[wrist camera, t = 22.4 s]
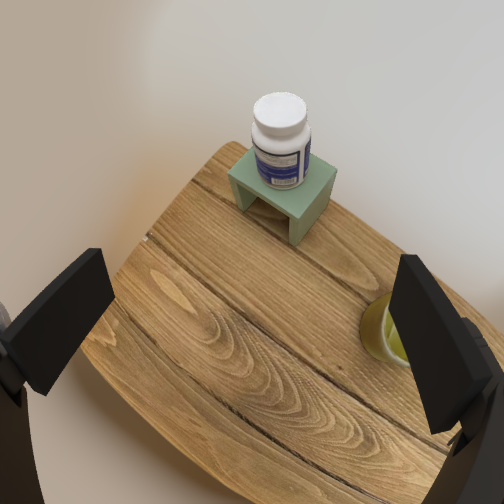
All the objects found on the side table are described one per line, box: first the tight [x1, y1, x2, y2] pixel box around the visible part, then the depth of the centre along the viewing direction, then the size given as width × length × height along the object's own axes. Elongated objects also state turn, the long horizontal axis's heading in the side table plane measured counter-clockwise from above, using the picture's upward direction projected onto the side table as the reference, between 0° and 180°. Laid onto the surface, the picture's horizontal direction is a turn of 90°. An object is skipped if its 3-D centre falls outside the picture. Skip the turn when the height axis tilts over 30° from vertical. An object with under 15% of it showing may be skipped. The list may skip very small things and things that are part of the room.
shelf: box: [227, 146, 337, 247], centre depth 37 cm, size 10×8×9 cm
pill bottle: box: [251, 92, 311, 190], centre depth 27 cm, size 6×6×10 cm
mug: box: [360, 292, 411, 368], centre depth 30 cm, size 12×10×10 cm
